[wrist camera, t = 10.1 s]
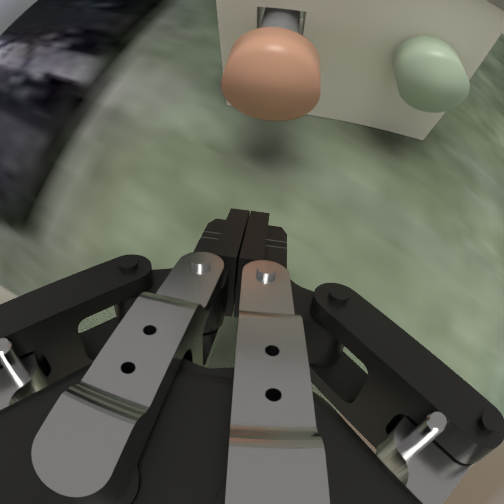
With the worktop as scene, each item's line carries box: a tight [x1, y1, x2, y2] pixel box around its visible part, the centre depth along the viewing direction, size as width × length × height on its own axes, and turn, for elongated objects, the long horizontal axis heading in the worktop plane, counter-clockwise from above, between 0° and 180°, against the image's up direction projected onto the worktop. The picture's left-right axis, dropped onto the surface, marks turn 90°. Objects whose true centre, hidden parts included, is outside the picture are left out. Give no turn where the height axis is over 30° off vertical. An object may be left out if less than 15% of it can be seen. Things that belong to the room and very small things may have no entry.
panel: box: [216, 0, 504, 141], centre depth 16 cm, size 19×4×17 cm, turn 82°
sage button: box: [392, 36, 470, 113], centre depth 15 cm, size 5×8×5 cm, turn 172°
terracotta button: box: [221, 7, 321, 121], centre depth 15 cm, size 5×8×5 cm, turn 172°
